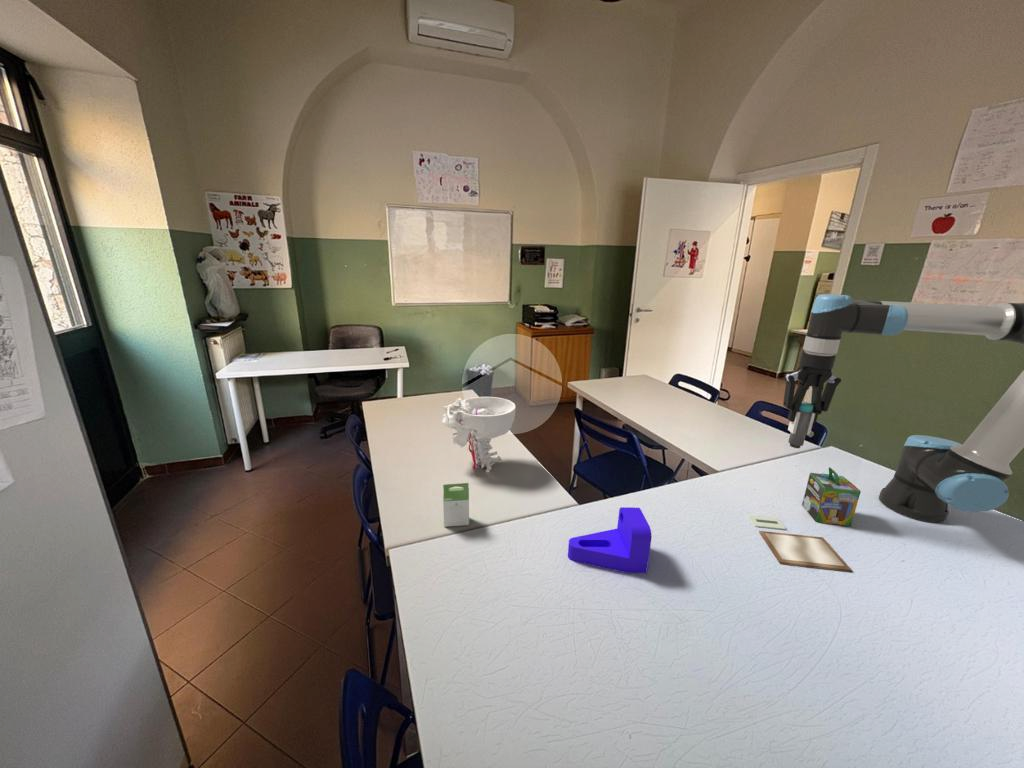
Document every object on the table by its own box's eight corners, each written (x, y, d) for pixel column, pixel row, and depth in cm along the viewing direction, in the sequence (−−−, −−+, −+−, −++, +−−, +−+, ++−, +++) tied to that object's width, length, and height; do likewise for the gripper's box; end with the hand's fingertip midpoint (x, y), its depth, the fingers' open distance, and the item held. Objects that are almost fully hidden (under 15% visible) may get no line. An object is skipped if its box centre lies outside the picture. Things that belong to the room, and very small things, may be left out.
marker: (798, 444, 119) (809, 402, 115) (805, 449, 115) (816, 406, 111) (784, 443, 119) (795, 401, 115) (791, 448, 116) (802, 405, 112)
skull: (510, 452, 153) (511, 395, 147) (517, 477, 136) (519, 414, 129) (444, 455, 150) (442, 397, 143) (442, 482, 132) (440, 417, 125)
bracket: (632, 542, 106) (637, 503, 103) (646, 573, 96) (652, 531, 92) (564, 541, 106) (567, 503, 102) (571, 573, 95) (574, 531, 92)
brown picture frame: (822, 539, 109) (823, 537, 108) (851, 572, 97) (852, 569, 97) (758, 532, 111) (759, 530, 110) (779, 563, 99) (780, 561, 99)
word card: (777, 519, 117) (777, 517, 117) (785, 530, 112) (786, 528, 112) (747, 516, 118) (748, 514, 118) (755, 526, 113) (755, 525, 113)
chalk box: (851, 527, 114) (866, 481, 109) (814, 522, 116) (828, 477, 111) (834, 508, 122) (847, 465, 118) (800, 504, 124) (812, 461, 120)
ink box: (469, 517, 115) (468, 475, 111) (469, 525, 111) (468, 483, 107) (444, 518, 114) (443, 476, 110) (444, 527, 110) (442, 484, 106)
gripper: (843, 351, 111) (821, 429, 118) (780, 348, 113) (762, 425, 120) (861, 357, 104) (837, 440, 111) (793, 354, 106) (774, 435, 113)
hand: (798, 432), depth 116 cm, fingers closed on marker, 3 cm apart
